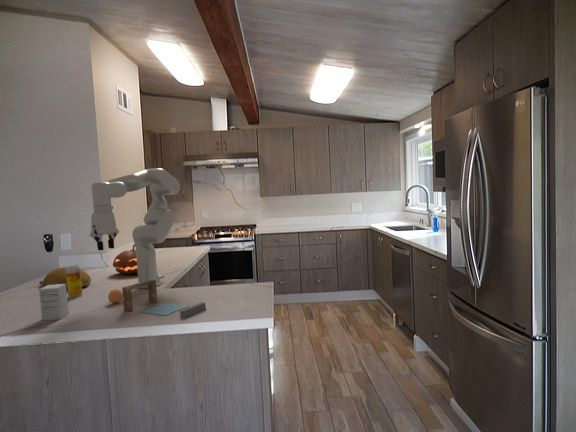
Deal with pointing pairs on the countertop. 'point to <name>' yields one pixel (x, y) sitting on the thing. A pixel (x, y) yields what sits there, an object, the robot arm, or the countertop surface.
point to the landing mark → (165, 309)
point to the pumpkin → (126, 262)
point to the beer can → (74, 281)
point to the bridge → (128, 290)
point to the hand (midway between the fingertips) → (106, 248)
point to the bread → (64, 277)
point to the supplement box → (53, 301)
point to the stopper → (192, 310)
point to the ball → (115, 296)
